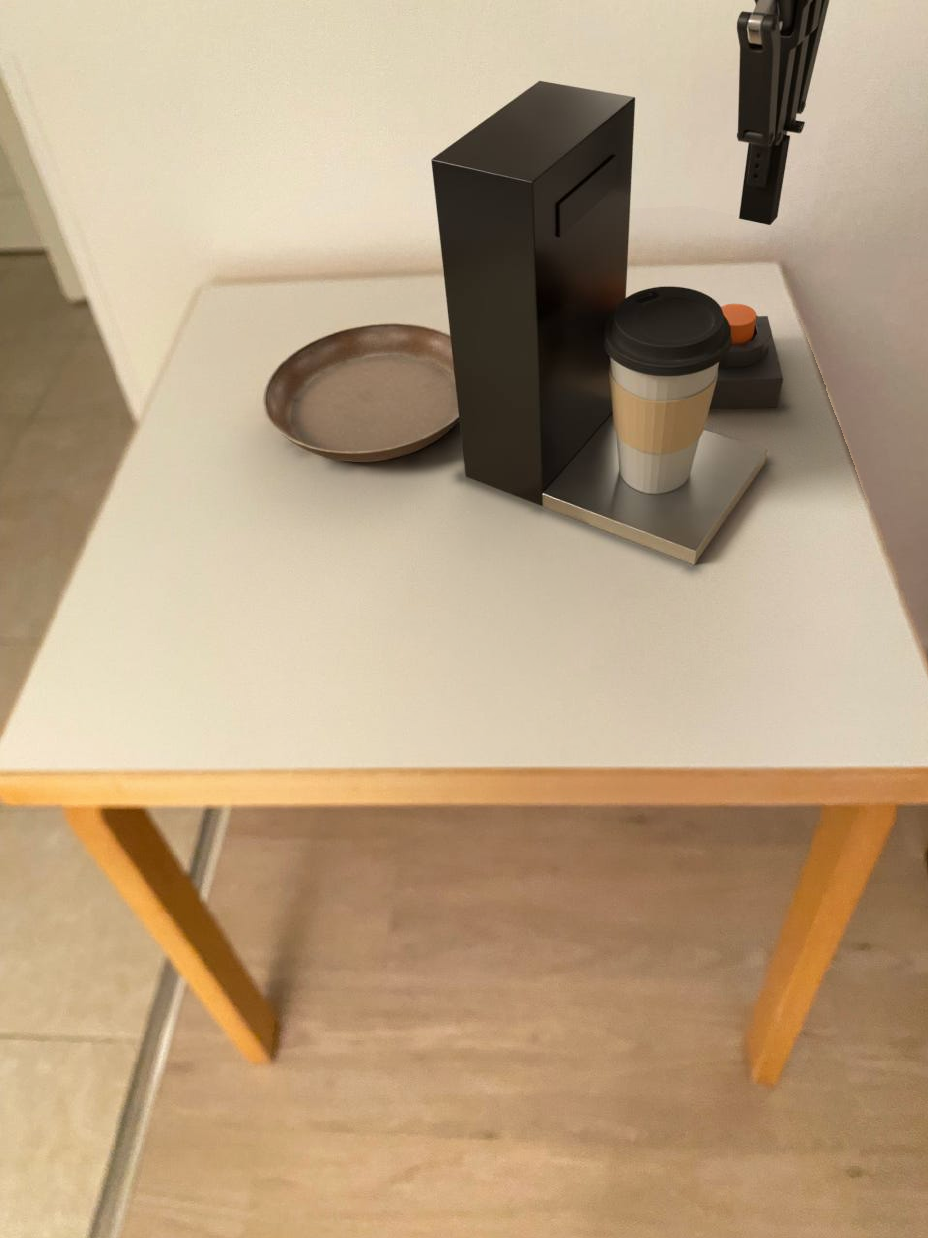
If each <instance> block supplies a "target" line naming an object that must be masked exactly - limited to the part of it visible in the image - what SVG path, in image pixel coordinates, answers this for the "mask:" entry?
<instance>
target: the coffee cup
mask: <svg viewBox="0 0 928 1238" xmlns="http://www.w3.org/2000/svg"><path fill="white" fill-rule="evenodd" d="M721 307H722V306H721V305H720V304H719V303H718V301H716V299H714V298H713V297H711V296H710V295H708V294H706V293H704V292H702V291H699V290H697V289H693V288H689V287H682V286H666V285H665V286H655V287H650V288H646V289H645V288H644V289H641V290H639V291H636V292H634V293H632V294H630V295H628V296H626V298H625V299H624V300H623V301H622V302H621V303H620V304H619V305H618V307H617V309H616V311H615V313H614V314H613V315H612V316H611V317H610V318H609V320H608V321H607V324H606V327H605V332H604V335H603V345H604V348H605V350H606V352H607V353H608V355H609V356H610V361H611V364H610V369H609V374H610V386H611V398H612V411H613V423H614V428H615V432H616V437H617V449H618V460H619V470H620V474H621V476H622V478H623V480H624V481H625V482H626V483H627V484H628V485H630V486H631V487H632V488H634V489H636V490H638V491H641V492H644V493H649V494H660V493H665V492H669V491H672V490H674V489H676V488H678V487H680V486H681V485H683V484H684V483H685V482H686V481H687V479H688V478H689V475H690V473H691V469H692V465H693V461H694V457H695V454H696V450H697V446H698V442H699V439H700V436H701V435H702V433H703V430H705V426H706V423H707V419H708V415H709V411H710V409H709V408H710V404H711V400H712V396H713V392H714V389H715V385H716V381H717V377H718V365H719V362H720V361H721V360H722V359H723V358H724V357H725V356H726V355H727V353H728V352H729V350H730V348H731V343H732V337H731V327H730V324H729V322H728V320H727V319H726V317H725V316H724V314H723V311H722V308H721Z"/></svg>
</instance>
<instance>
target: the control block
mask: <svg viewBox="0 0 928 1238" xmlns="http://www.w3.org/2000/svg"><path fill="white" fill-rule="evenodd" d="M783 383H784V376H783V371H782V368H781V363H780V359H779V355H778V351H777V347H776V344H775V340H774V336H773V333H772V328H771V324H770V319H769V316H768V315H757V314H756V322H755V328H754V334H753V338H752V339H751V340H750V341H748V342H745V343H743V344H731V348H730V350H729V352H728V353H727V355H726V356H725V357H724V358H723V359H722V360H721V361H720V362H719V365H718V377H717V381H716V385H715V389H714V392H713V396H712V400H711V404H710V408H709V410H724V409H725V410H728V409H733V410H735V409H763V408H778V407H779V404H780V403H779V402H780V398H781V393H782V388H783Z"/></svg>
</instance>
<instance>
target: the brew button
mask: <svg viewBox="0 0 928 1238" xmlns="http://www.w3.org/2000/svg"><path fill="white" fill-rule="evenodd" d="M720 307H721V308H722V311H723V314H724V316H725V317H726V319H727V320H728V322H729V324H730V327H731V337H732V343H731V344H743V343H745V342H748V341H750V340H751V339H752V338H753V334H754V328H755V322H756V315H757V312H756V310H755V309H754V308H753V307H751V306H749V305H746V304H743V303H728V304H724V305H722V306H720Z"/></svg>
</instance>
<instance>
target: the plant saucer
mask: <svg viewBox="0 0 928 1238" xmlns="http://www.w3.org/2000/svg"><path fill="white" fill-rule="evenodd" d="M262 402H263V403H262V405H263V411H264V413H265V416H266V418H267V419H268V421H269V423H270V424H271V425H272V427H273V428H274V429H275V430H276V431H277V432H278V433H279V434H281V436H283V437H284V438H285V439H287V440H288V441H290V442H291V443H293V444H294V445H296V446H297V447H299V448H301V449H303V450H305V451H308V452H310V453H312V454H314V455H317V456H321V457H324V458H328V459H332V460H337V461H344V462H351V463H352V462H353V463H356V462H357V463H359V462H360V463H369V462H378V461H379V462H380V461H385V460H386V461H387V460H391V459H396V458H399V457H404V456H406V455H409V454H411V453H414V452H417V451H419V450H421V449H423V448H425V447H428V445H431V444H432V443H434V442H436V441H437V440H439V439H440V438H441V437H443V436H444V435H446V434H447V433H449V432H450V430H451V429H453V428H454V427H455V426H456V424H458V423H460V421H459V412H458V402H457V393H456V384H455V375H454V365H453V356H452V347H451V338H450V333H447V332H446V331H443V330H440V329H438V328H434V327H431V326H426V325H422V324H421V325H420V324H414V323H407V322H406V323H405V322H384V323H383V322H380V323H369V324H362V325H356V326H352V327H346V328H344V329H343V328H342V329H340V330H337V331H336V330H335V331H333V332H331V333H328V334H325V335H323V336H320V337H318V338H316V339H313V340H311V341H310V342H307V343H305V344H304V345H303V346H301V347H299V348H298V349H296V350H294V351H293V352H292V353H291V354H288V356H287V357H285V358H284V360H282V361H281V362H280V363H279V365H277V367H276V368H275V369H274V371H273V372H272V373H271V374H270V376H269V377H268V380H267V382H266V384H265V386H264V390H263V395H262Z"/></svg>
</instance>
